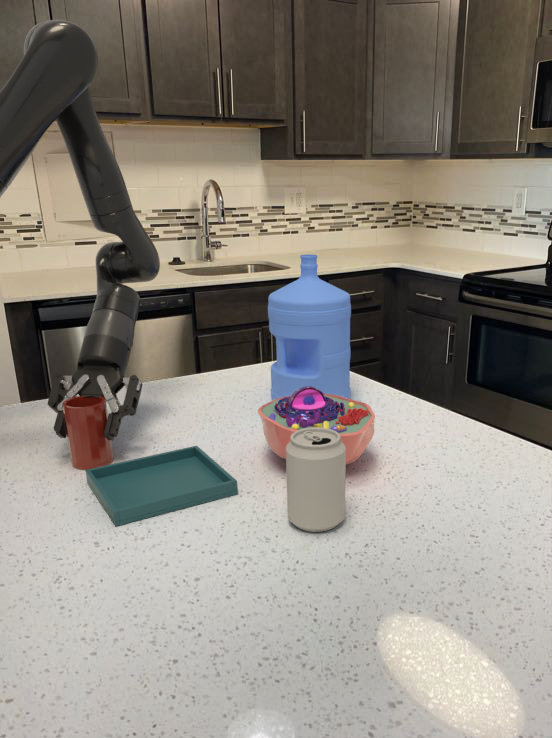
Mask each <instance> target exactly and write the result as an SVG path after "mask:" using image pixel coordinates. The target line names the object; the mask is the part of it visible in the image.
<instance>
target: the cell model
mask: <svg viewBox="0 0 552 738" xmlns="http://www.w3.org/2000/svg"><path fill="white" fill-rule="evenodd" d="M257 414H258V416H259V418H260V421H261V423H262V429H263V430H262V431H263V436H264V439H265V441H266V443H267V445H268V447H269V449H270V450H271V451H272V452H273V453H275V454H276V455H277V456H278V457H279V458H281V459H284V460H286V446H287V445H288V443H289V442H290V441H291V435H292V434H293V433H294V432H296V431H298V430H301V429H305V428H317V427H319V428H327V429H331V430H334V431H336V432H338V433H339V434H340V437H341V439H340V441H341V442H342V443H343V444H344V445H345V448H346V466H347V465H349V464H352V463H354V462H355V461H357V460H358V459H359V458H360V457H361V456H362V455H363V453H364V452H365V451H366V449H367V447H368V445H369V444H370V442H371V441H372V439H373V437H375V420H376V415H375V412H374V411H373V409H372V407H371V406H370V405H369V404H368V403H366V402H364V401H363V402H362V401H359V400H355V399H352V398H350V399H348V398H345V397H342V396H338V395H333V394H324V393H323V392H322V391H320V390H318V389H316V388H314V387H311V386H305V387H302V388H300V389H298V390H296V391H295V392H294V393H293V394H292V395H291V396H286V397H281V398H277V399H275V400H273V401H272V400H270V401H269V402H266V403H265V404H262V405H261V406H259V407H258V409H257Z"/></svg>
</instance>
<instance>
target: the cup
mask: <svg viewBox="0 0 552 738" xmlns="http://www.w3.org/2000/svg"><path fill="white" fill-rule="evenodd" d="M107 405H108V404H107V402H106V399H105V398H104V397H98V398H95V397H89V398H86V397H84V396H79V395H77V396H76V397H73V398H70V399H67V400H66V401H64V402H63V404H62V406H63V413H64V419H65V425H66V432H67V436H66V438H67V444H68V450H69V457H70V462H71V466H72V467H73V468H75V469H77V470H84V471H85V470H88V469H92V468H97V467H101V466H106V465H110V464H112V462H113V461H114V452H113V451H114V449H113V443H112V440H107V439H106V438H105V436H104V432H105V427H106V423H107V419H108V415H109V412H108V406H107Z"/></svg>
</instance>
